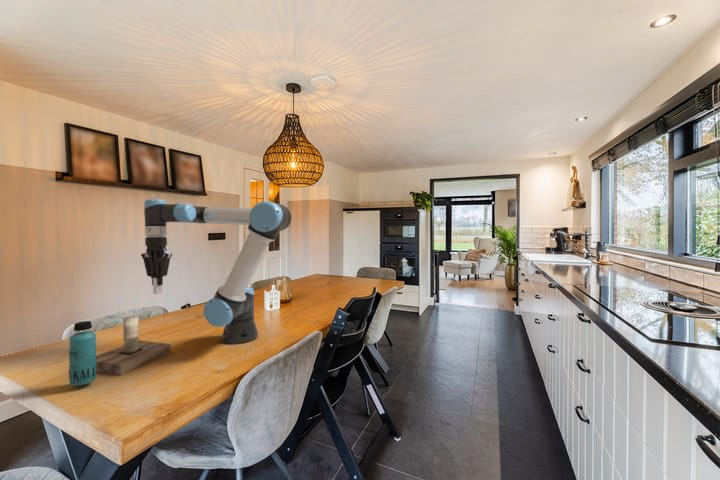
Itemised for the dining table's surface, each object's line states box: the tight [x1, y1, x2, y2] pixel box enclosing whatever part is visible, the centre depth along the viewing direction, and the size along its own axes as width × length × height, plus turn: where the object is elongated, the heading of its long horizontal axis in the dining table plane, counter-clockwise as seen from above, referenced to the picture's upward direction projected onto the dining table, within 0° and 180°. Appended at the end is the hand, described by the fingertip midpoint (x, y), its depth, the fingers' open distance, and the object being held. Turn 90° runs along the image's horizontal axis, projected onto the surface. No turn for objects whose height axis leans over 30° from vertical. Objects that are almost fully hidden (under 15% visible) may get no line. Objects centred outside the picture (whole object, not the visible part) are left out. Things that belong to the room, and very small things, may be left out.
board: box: [96, 339, 172, 376], centre depth 114 cm, size 16×20×4 cm
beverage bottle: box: [68, 320, 98, 387], centre depth 95 cm, size 6×7×20 cm
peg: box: [122, 315, 139, 355], centre depth 114 cm, size 5×5×16 cm
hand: (157, 293), depth 128 cm, fingers closed
